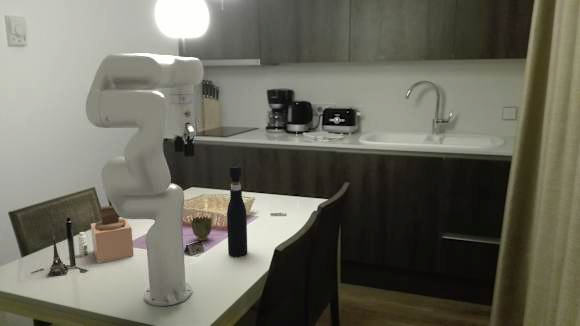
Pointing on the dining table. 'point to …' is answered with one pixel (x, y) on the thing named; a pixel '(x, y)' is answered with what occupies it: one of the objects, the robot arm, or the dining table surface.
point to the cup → (201, 227)
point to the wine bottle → (236, 217)
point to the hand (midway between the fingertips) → (184, 153)
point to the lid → (109, 219)
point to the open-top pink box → (112, 243)
